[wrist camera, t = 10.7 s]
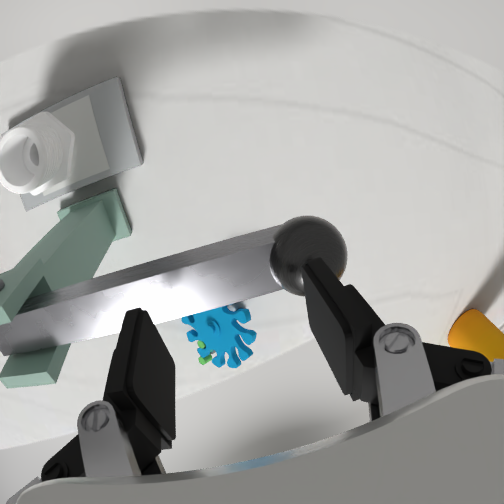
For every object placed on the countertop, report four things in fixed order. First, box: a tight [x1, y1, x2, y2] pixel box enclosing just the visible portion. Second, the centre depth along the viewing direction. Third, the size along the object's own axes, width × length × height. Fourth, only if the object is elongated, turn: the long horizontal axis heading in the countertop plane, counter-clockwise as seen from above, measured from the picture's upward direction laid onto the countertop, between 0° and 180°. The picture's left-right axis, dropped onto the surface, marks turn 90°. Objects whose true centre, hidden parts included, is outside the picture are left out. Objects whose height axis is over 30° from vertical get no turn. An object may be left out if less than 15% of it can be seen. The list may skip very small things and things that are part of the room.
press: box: [0, 77, 143, 388], centre depth 18 cm, size 14×16×20 cm
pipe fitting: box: [0, 112, 75, 196], centre depth 20 cm, size 6×7×8 cm
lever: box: [0, 216, 347, 356], centre depth 13 cm, size 20×4×4 cm, turn 103°
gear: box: [182, 304, 257, 368], centre depth 35 cm, size 11×6×10 cm
